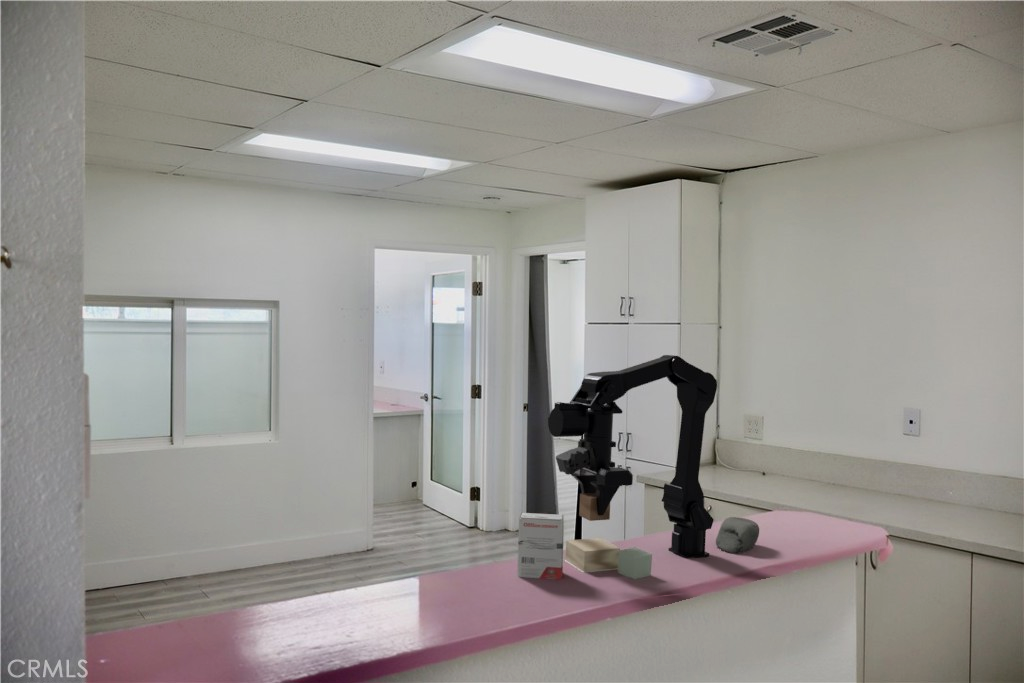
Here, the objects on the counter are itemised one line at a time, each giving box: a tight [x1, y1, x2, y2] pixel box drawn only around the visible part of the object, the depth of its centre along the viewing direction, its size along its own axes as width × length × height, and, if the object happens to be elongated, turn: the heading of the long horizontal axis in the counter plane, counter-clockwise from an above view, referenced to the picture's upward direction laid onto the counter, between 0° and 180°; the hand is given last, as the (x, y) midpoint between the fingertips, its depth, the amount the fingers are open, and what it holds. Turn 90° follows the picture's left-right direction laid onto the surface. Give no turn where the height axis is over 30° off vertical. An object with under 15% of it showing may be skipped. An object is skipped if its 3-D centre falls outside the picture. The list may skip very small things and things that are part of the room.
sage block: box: [617, 546, 653, 580], centre depth 153 cm, size 4×4×4 cm
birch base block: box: [564, 537, 621, 573], centre depth 158 cm, size 8×8×4 cm
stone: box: [715, 516, 760, 554], centre depth 177 cm, size 9×9×10 cm
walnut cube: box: [578, 492, 611, 522], centre depth 158 cm, size 4×4×4 cm
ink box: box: [517, 512, 565, 581], centre depth 150 cm, size 9×5×12 cm, turn 84°
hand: (594, 512), depth 158 cm, fingers closed on walnut cube, 4 cm apart
